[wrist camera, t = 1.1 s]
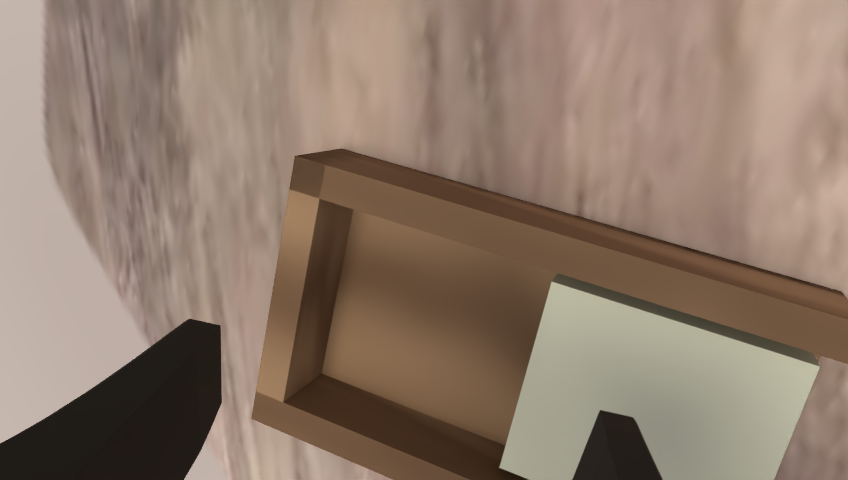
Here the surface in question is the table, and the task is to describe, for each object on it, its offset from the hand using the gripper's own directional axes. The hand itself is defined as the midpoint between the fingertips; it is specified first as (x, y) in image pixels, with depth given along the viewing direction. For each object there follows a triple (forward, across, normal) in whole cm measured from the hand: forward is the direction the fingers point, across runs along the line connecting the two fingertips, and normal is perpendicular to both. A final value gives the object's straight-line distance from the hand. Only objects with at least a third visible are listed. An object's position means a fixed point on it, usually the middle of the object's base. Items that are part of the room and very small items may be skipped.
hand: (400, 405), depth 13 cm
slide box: (+11, -4, +7) cm, 14 cm away
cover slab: (+10, -8, +7) cm, 14 cm away
